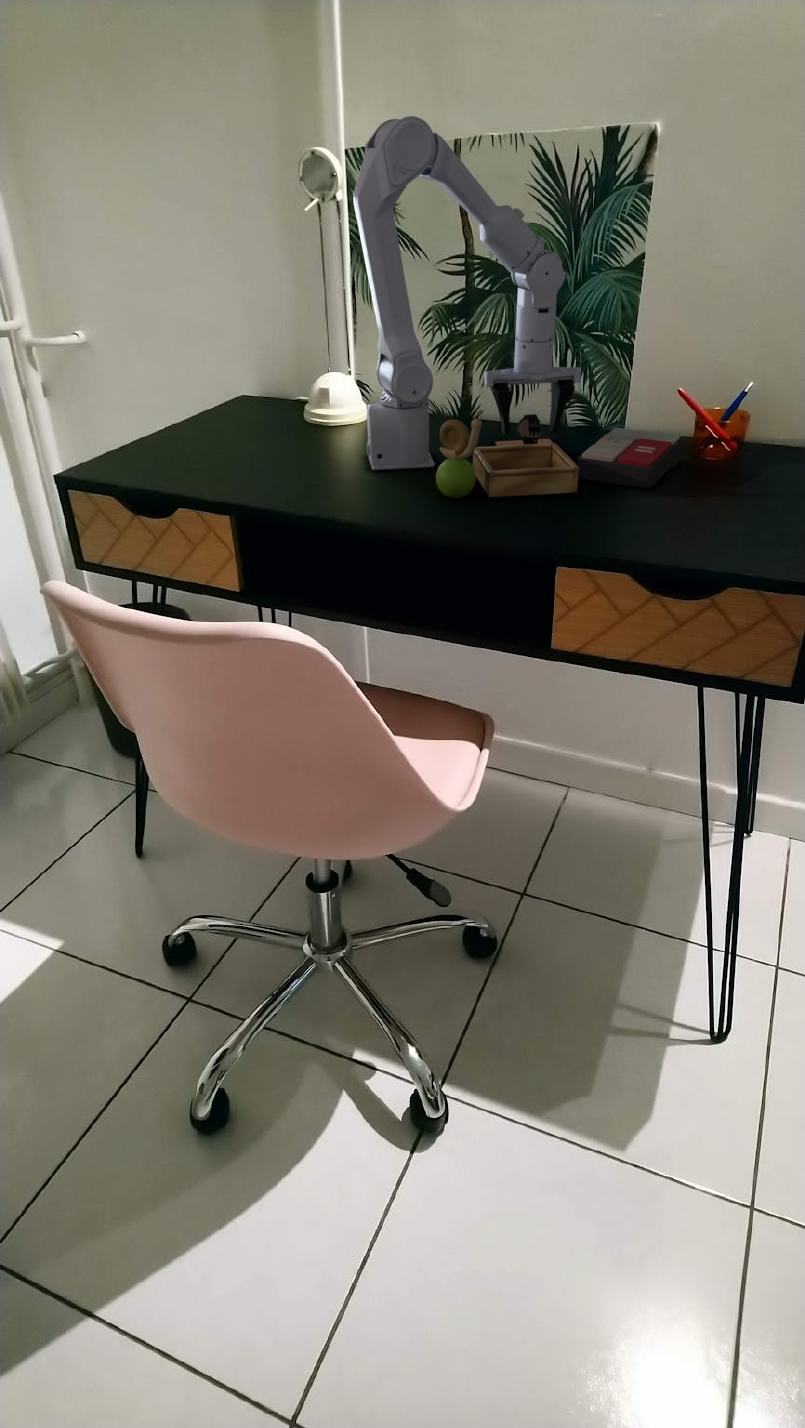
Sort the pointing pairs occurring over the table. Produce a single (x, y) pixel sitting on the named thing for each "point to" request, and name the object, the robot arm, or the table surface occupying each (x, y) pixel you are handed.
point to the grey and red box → (630, 457)
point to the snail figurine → (457, 457)
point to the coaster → (521, 442)
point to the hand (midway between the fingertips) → (529, 431)
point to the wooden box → (525, 470)
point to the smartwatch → (529, 429)
